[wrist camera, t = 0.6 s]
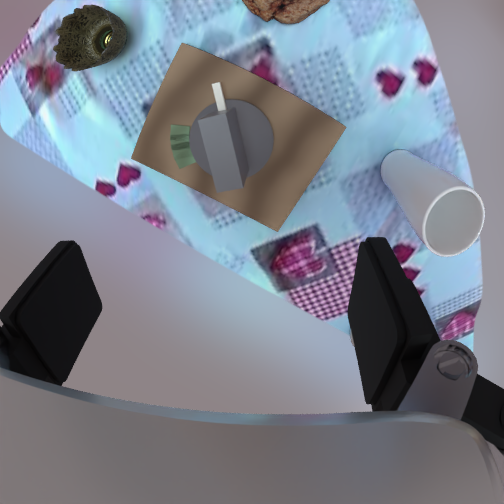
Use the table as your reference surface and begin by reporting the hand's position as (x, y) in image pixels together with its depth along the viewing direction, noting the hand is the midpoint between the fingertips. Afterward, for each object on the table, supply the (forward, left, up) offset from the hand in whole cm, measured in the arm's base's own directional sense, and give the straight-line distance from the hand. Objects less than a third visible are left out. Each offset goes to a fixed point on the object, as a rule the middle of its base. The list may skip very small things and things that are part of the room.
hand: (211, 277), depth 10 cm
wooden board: (+2, +2, -28) cm, 28 cm away
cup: (+21, -3, -28) cm, 36 cm away
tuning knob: (+3, +1, -26) cm, 26 cm away
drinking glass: (-17, -5, -28) cm, 33 cm away
